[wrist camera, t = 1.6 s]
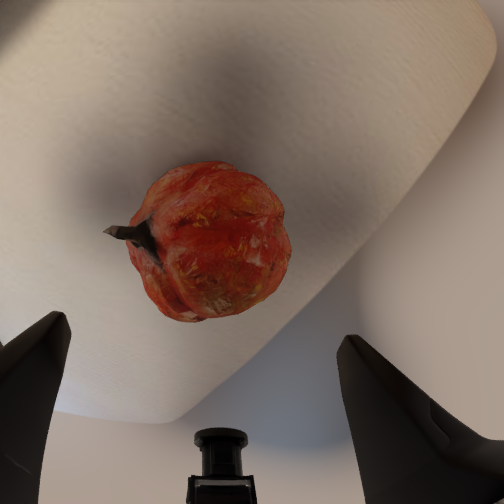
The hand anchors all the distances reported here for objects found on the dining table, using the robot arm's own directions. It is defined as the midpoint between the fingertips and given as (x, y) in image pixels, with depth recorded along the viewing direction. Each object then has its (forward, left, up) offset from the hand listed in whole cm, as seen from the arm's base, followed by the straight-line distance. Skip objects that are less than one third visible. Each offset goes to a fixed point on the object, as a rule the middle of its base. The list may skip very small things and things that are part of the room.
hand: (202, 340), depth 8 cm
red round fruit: (0, 0, -9) cm, 9 cm away
